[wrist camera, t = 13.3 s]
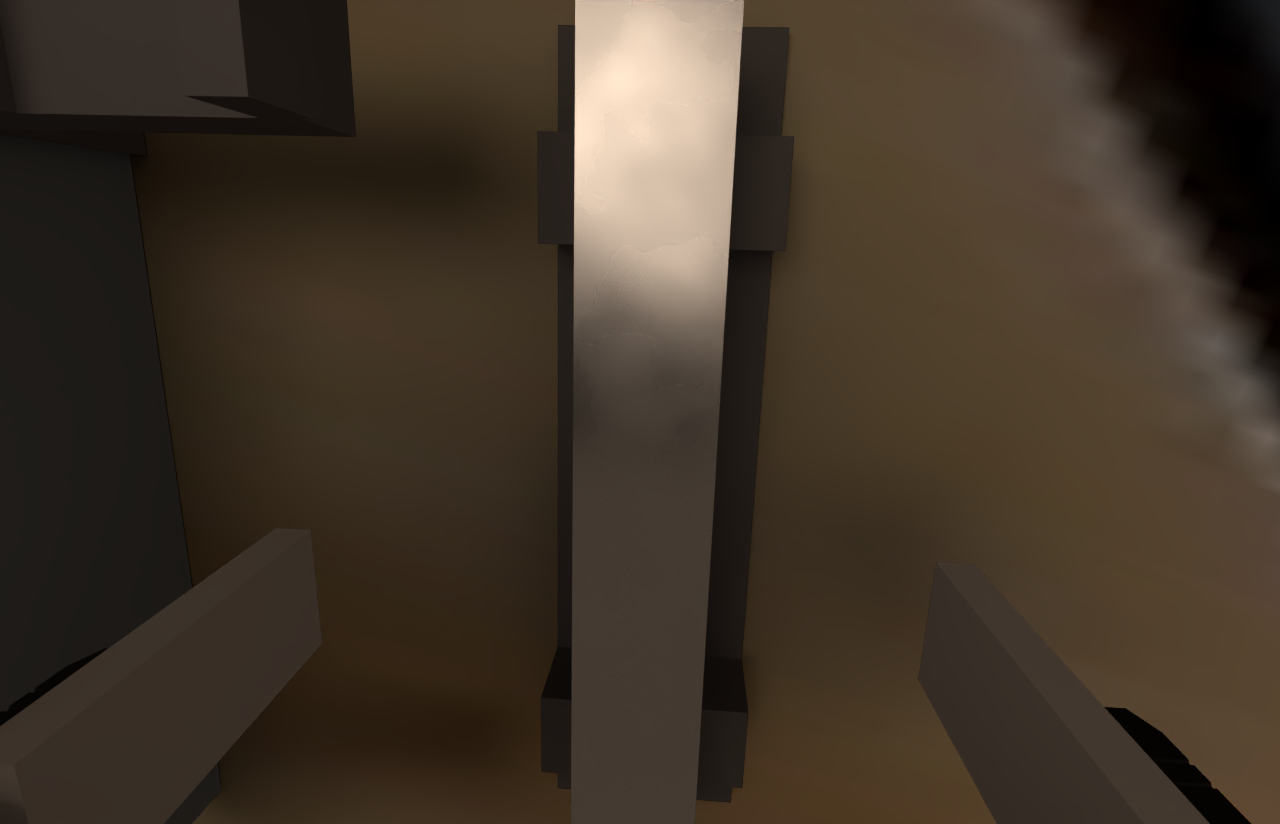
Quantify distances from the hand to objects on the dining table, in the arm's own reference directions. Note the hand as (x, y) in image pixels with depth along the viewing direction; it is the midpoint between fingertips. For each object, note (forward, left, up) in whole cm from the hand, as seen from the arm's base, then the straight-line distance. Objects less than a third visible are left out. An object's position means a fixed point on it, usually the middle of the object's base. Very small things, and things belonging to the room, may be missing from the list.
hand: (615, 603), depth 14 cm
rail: (0, 0, -7) cm, 7 cm away
